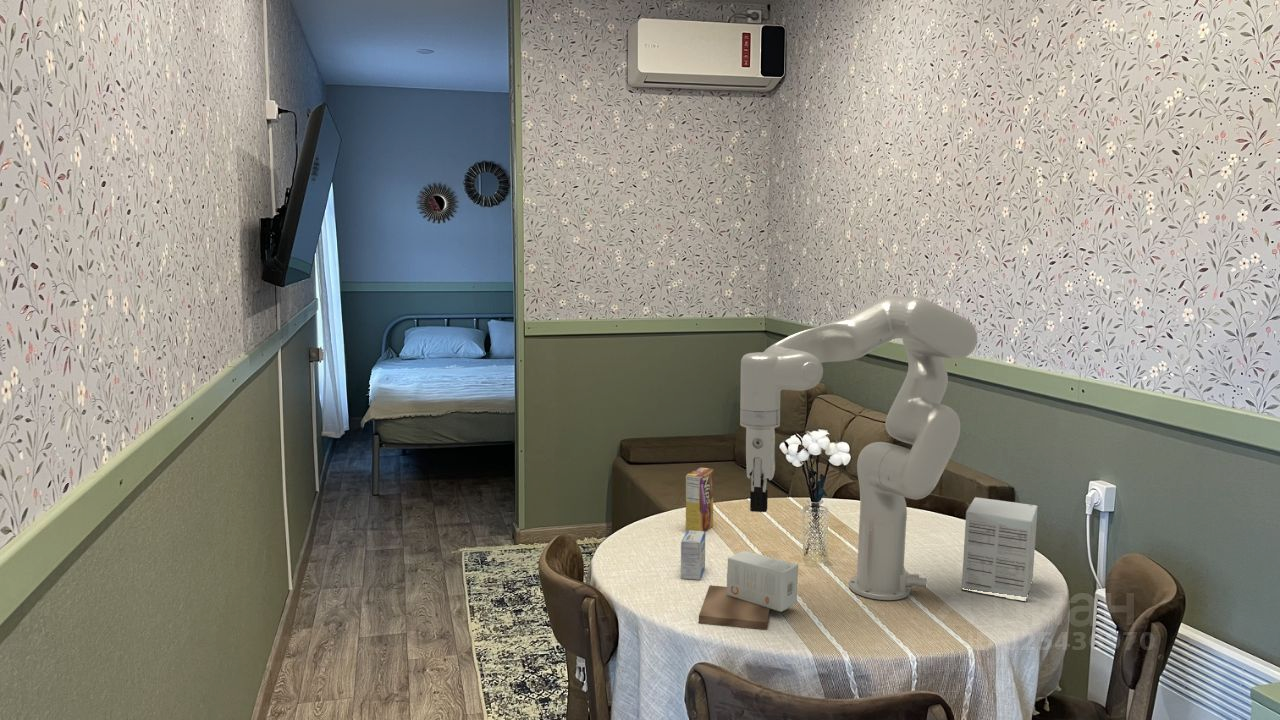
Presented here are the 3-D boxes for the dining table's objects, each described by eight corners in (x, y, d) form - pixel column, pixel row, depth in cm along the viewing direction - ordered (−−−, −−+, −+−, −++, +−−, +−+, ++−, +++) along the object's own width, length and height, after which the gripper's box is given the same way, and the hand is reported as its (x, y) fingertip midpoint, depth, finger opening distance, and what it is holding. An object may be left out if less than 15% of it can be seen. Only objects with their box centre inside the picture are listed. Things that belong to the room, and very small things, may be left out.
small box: (799, 564, 178) (743, 549, 186) (783, 573, 173) (726, 557, 182) (797, 603, 179) (742, 586, 188) (781, 613, 174) (725, 595, 183)
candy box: (698, 523, 235) (699, 466, 233) (713, 526, 233) (715, 468, 231) (684, 533, 227) (685, 474, 225) (699, 536, 225) (701, 476, 223)
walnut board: (772, 597, 186) (772, 590, 185) (766, 629, 170) (767, 622, 170) (709, 592, 188) (709, 585, 188) (698, 623, 173) (698, 615, 173)
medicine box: (700, 580, 195) (701, 542, 194) (680, 579, 196) (680, 540, 194) (705, 568, 202) (706, 531, 201) (685, 566, 203) (686, 529, 202)
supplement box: (969, 571, 203) (974, 496, 200) (1033, 582, 196) (1038, 504, 194) (959, 591, 191) (964, 511, 189) (1027, 603, 185) (1033, 520, 183)
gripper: (777, 426, 164) (776, 523, 166) (781, 410, 178) (780, 500, 181) (736, 424, 165) (735, 521, 168) (743, 409, 180) (742, 498, 182)
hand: (758, 510), depth 174 cm, fingers closed
